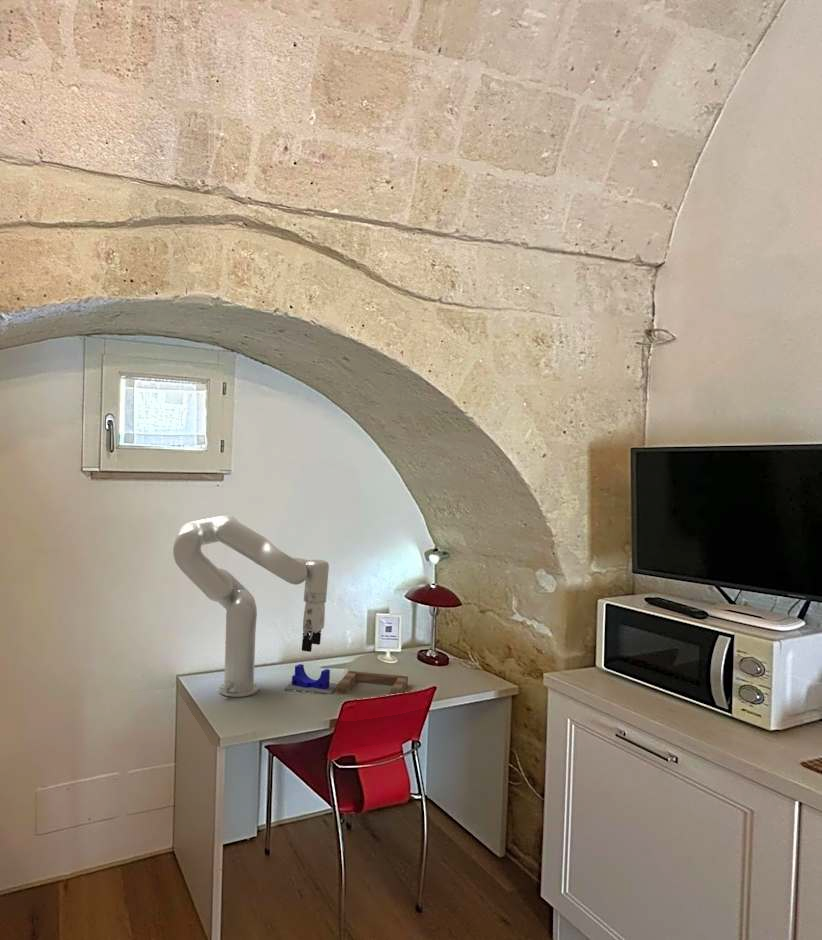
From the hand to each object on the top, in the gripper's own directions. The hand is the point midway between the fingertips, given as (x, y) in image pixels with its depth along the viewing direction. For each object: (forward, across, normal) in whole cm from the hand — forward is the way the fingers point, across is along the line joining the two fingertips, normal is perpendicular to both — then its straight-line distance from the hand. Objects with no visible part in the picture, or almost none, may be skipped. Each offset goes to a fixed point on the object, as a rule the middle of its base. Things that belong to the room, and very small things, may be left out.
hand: (311, 647), depth 245 cm
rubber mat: (+14, +1, -1) cm, 14 cm away
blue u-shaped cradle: (+13, 0, -1) cm, 13 cm away
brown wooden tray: (+13, +5, -21) cm, 26 cm away
